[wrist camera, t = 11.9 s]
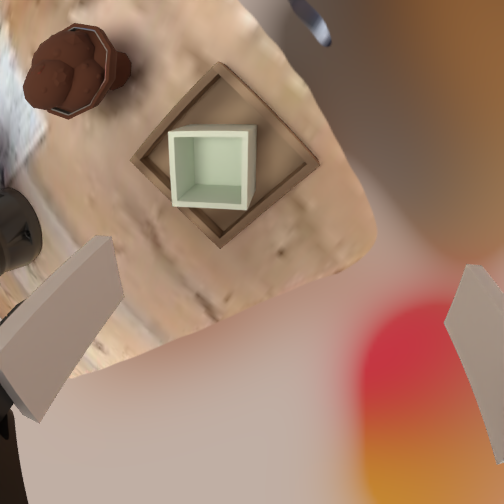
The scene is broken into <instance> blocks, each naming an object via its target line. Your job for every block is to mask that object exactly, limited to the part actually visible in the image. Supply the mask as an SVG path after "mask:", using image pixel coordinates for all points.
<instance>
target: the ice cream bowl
mask: <svg viewBox="0 0 504 504" xmlns="http://www.w3.org/2000/svg"><path fill="white" fill-rule="evenodd" d="M130 73H131V62H130V60H129V58H128V57H127V55H126V54H125V53H122V52H118V51H116V50H115V49H114V47H113V45H112V44H111V42H110V41H109V39H108V37H107V36H106V34H105V33H104V31H103V30H102V29H100V28H99V27H96V26H90V25H84V24H77V23H74V24H72V25H70V26H69V27H67V28H66V29H64V30H62V31H60V32H58V33H56V34H55V35H52V36H51V37H50V38H49V39H47V40H46V41H44V42H43V43H42V44H40V46H39V48H38V50H37V51H36V52H35V53H34V56H33V59H32V66H31V68H30V70H29V72H28V74H27V76H26V79H25V82H24V85H23V90H24V95H25V99H26V100H27V101H28V102H29V104H30V105H31V106H32V107H33V108H38V109H44V110H47V111H48V112H49V113H52V114H54V115H57V116H60V117H63V118H65V119H68V120H69V119H71V118H73V117H75V116H77V115H79V114H81V113H83V112H85V111H87V110H89V109H92V108H94V107H96V106H97V105H99V103H100V102H101V101H102V99H103V98H104V96H105V95H106V93H107V91H108V90H109V89H110V90H115V89H117V88H119V87H122V86H123V85H124V84H125V82H126V81H127V79H128V78H129V77H130Z"/></svg>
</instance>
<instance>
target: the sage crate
mask: <svg viewBox="0 0 504 504" xmlns="http://www.w3.org/2000/svg"><path fill="white" fill-rule="evenodd" d="M168 143H169V164H170V181H171V195H172V206H173V207H196V208H216V209H233V210H247V209H248V207H249V204H250V202H251V200H252V197H253V195H254V193H255V190H256V148H257V125H253V124H189V125H186V126H183V127H180V128H177V129H174V130H172V131H169V132H168Z"/></svg>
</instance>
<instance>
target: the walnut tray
mask: <svg viewBox="0 0 504 504" xmlns="http://www.w3.org/2000/svg"><path fill="white" fill-rule="evenodd" d="M189 124H253V125H257V148H256V190H255V193H254V195H253V197H252V200H251V202H250V204H249V207H248V209H247V210H233V209H216V208H196V207H177V208H178V209H179V210H180V211H181V212H182V213H183V214H184V215H186V216H187V217H188V218H189V219H190V220H191V221H192V222H193V223H194V224H195V225H196V226H197V227H198V228H199V229H200V230H201V231H202V232H203V233H204V234H205V235H206V236H207V237H208V238H209V239H210V240H211V241H212V242H213V243H214V244H216V245H217V246H218V247H219V248H220V249H221V248H222V247H223V246H224V245H225V244H227V243H228V242H229V241H230V240H231V239H232V238H234V237H235V236H236V235H237V234H238V233H239V232H241V231H242V230H243V229H244V228H245V227H247V226H248V225H249V224H250V223H251V222H252V221H254V220H255V219H256V218H257V217H258V216H260V215H261V214H262V213H263V212H264V211H266V210H267V209H268V208H269V207H270V206H271V205H273V204H274V203H275V202H276V201H277V200H279V199H280V198H281V197H282V196H283V195H285V194H286V193H287V192H288V191H289V190H291V189H292V188H293V187H294V186H295V185H297V184H298V183H299V182H300V181H302V180H303V179H304V178H305V177H306V176H308V175H309V174H310V173H311V172H312V171H314V170H315V169H316V168H317V167H319V166H320V164H319V161H318V159H317V158H316V157H315V156H314V155H313V154H312V152H311V151H310V150H309V149H308V148H307V147H306V146H305V145H304V144H303V142H302V141H301V140H300V139H299V138H298V137H297V136H296V135H295V134H294V133H293V132H292V130H291V129H290V128H289V127H288V126H287V125H286V124H285V123H284V122H283V121H282V120H281V119H280V118H279V117H278V116H277V115H276V114H275V113H274V112H273V111H272V110H271V109H270V108H269V107H268V105H267V104H266V103H265V102H264V101H263V100H262V99H261V98H260V97H259V96H258V95H257V94H255V93H254V92H253V91H252V90H251V89H250V88H249V87H248V86H247V85H246V84H245V83H244V82H243V81H242V80H241V79H240V78H239V77H238V76H237V75H236V74H235V73H234V72H233V71H231V70H230V69H229V68H228V67H227V66H226V65H225V64H223V63H221V62H217V63H216V64H215V65H214V66H213V67H212V68H211V69H210V70H209V71H208V72H207V73H206V74H205V75H204V76H203V77H202V78H201V79H200V80H199V81H198V82H197V83H196V84H195V85H194V86H193V87H192V88H191V89H190V91H189V92H188V93H187V94H186V95H185V96H184V97H183V98H182V99H181V100H180V101H179V102H178V103H177V105H176V106H175V107H174V108H173V109H172V110H171V111H170V112H169V113H168V115H167V116H166V117H165V118H164V119H163V120H162V121H161V123H160V124H159V125H158V126H157V127H156V128H155V130H154V131H153V132H152V133H151V134H150V136H149V137H148V138H147V139H146V140H145V142H144V143H143V144H142V145H141V147H140V148H139V149H138V150H137V152H136V153H135V154H134V155H133V157H132V158H131V159H130V161H131V162H132V163H133V164H134V165H135V166H136V167H137V168H138V169H139V170H140V171H141V172H142V173H143V174H144V175H145V176H146V177H147V178H148V179H149V180H150V181H151V182H152V183H153V184H154V185H155V186H156V187H157V188H158V189H159V190H160V191H161V192H162V193H163V194H164V195H165V196H166V197H167V198H168V199H169V200H170V201H171V202H172V195H171V181H170V164H169V143H168V132H169V131H172V130H174V129H177V128H180V127H183V126H186V125H189Z"/></svg>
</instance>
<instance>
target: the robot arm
mask: <svg viewBox="0 0 504 504" xmlns="http://www.w3.org/2000/svg"><path fill="white" fill-rule="evenodd" d="M41 244H42V237H41V230H40V226H39V222H38V219H37V217H36V214H35V212H34V210H33V208H32V207H31V205H30V204H29V202H28V201H27V200H26V198H25V197H24V196H23V195H22V194H21V193H19V192H18V191H16V190H14V189H11V188H4V189H1V190H0V276H1V275H2V274H3V273H5V272H7V271H11V270H14V269H17V268H20V267H23V266H26V265H28V264H29V263H31V262H32V261H33V260H34V259H35V258H36V257H37V256H38V255H39V253H40V250H41ZM123 298H124V293H123V289H122V284H121V280H120V275H119V271H118V266H117V261H116V256H115V251H114V246H113V241H112V236H99V235H95V236H94V237H93V238H92V239H91V240H89V241H88V242H87V243H86V244H85V245H84V246H83V247H81V248H80V249H79V250H78V251H77V252H76V253H75V254H73V255H72V256H71V257H70V258H69V259H68V260H67V261H66V262H65V263H63V264H62V265H61V266H60V267H59V268H58V269H57V270H56V271H55V272H54V273H53V274H52V275H51V276H49V277H48V278H47V279H46V280H45V281H44V282H43V283H42V284H41V285H40V286H39V287H38V288H37V289H36V290H35V291H34V292H33V293H32V294H31V295H30V296H29V297H28V298H27V299H25V300H24V301H22V302H20V303H19V304H17V305H16V306H15V307H14V308H13V309H12V310H11V311H10V312H9V313H8V314H7V315H8V316H7V317H6V316H5V317H4V319H3V320H2V321H1V322H0V504H28V500H27V496H26V491H25V487H24V482H23V477H22V472H21V466H20V460H19V454H18V448H17V439H16V431H15V420H14V415H13V412H12V410H11V409H10V408H11V406H12V405H13V403H14V404H15V405H16V407H17V408H18V409H19V410H20V412H21V413H22V414H23V415H24V416H26V417H28V418H30V419H32V420H34V421H36V422H38V423H40V422H41V420H42V419H43V417H44V415H45V414H46V412H47V410H48V409H49V407H50V406H51V404H52V402H53V401H54V399H55V398H56V396H57V394H58V393H59V391H60V390H61V388H62V386H63V385H64V383H65V382H66V380H67V379H68V377H69V376H70V374H71V373H72V371H73V370H74V368H75V367H76V365H77V364H78V362H79V361H80V359H81V358H82V356H83V355H84V353H85V352H86V350H87V349H88V347H89V346H90V344H91V343H92V341H93V340H94V339H95V337H96V336H97V334H98V333H99V331H100V330H101V329H102V327H103V326H104V324H105V323H106V322H107V320H108V319H109V317H110V316H111V315H112V313H113V312H114V310H115V309H116V308H117V306H118V305H119V304H120V302H121V301H122V300H123ZM444 325H445V327H446V329H447V331H448V333H449V335H450V337H451V340H452V342H453V344H454V346H455V349H456V351H457V353H458V355H459V358H460V360H461V362H462V365H463V367H464V369H465V372H466V374H467V377H468V379H469V382H470V384H471V387H472V390H473V392H474V395H475V397H476V400H477V403H478V406H479V409H480V412H481V414H482V417H483V420H484V423H485V426H486V430H487V432H488V436H489V439H490V442H491V446H492V449H493V453H494V456H495V460H496V463H497V464H500V463H504V293H503V292H502V291H501V289H500V288H499V287H498V285H497V284H496V283H495V282H494V280H493V279H492V278H491V276H490V275H489V274H488V273H487V271H486V270H485V269H484V268H483V267H482V266H481V265H471V264H466V267H465V270H464V273H463V276H462V278H461V281H460V284H459V287H458V289H457V292H456V294H455V297H454V300H453V302H452V305H451V307H450V309H449V312H448V314H447V317H446V319H445V321H444Z"/></svg>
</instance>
